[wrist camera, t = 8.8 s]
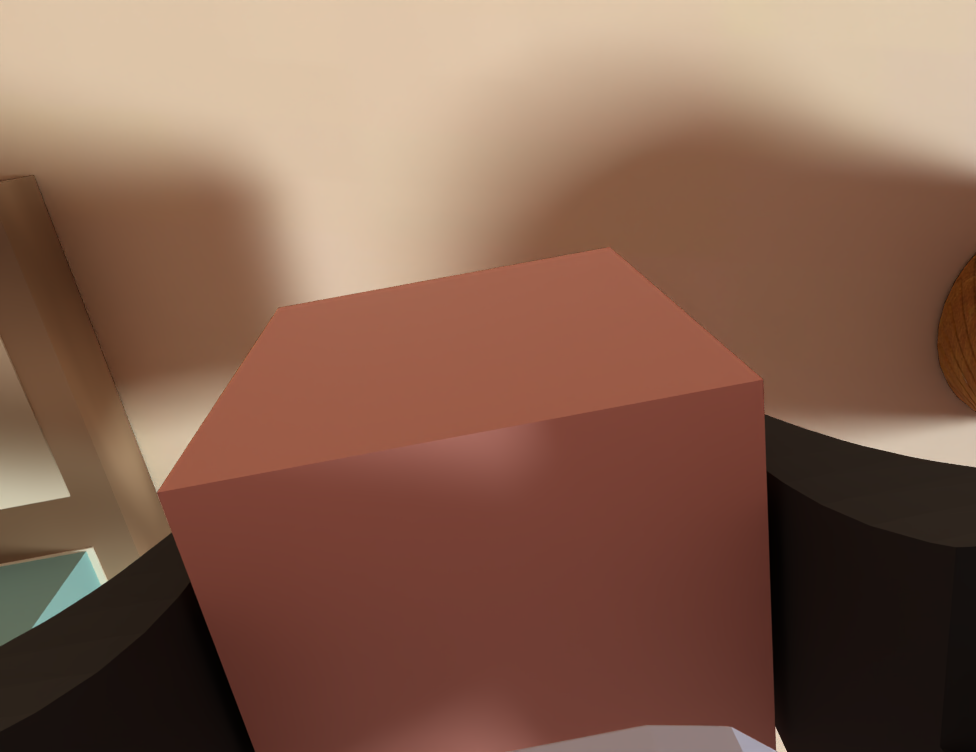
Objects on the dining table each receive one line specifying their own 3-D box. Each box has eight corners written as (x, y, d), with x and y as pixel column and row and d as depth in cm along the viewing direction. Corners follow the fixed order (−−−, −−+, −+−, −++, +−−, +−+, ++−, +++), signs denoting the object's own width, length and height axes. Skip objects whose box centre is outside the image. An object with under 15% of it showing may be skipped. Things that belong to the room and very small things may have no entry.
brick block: (640, 529, 14) (778, 811, 9) (355, 583, 14) (312, 902, 9) (609, 247, 12) (763, 379, 7) (277, 307, 12) (156, 493, 7)
